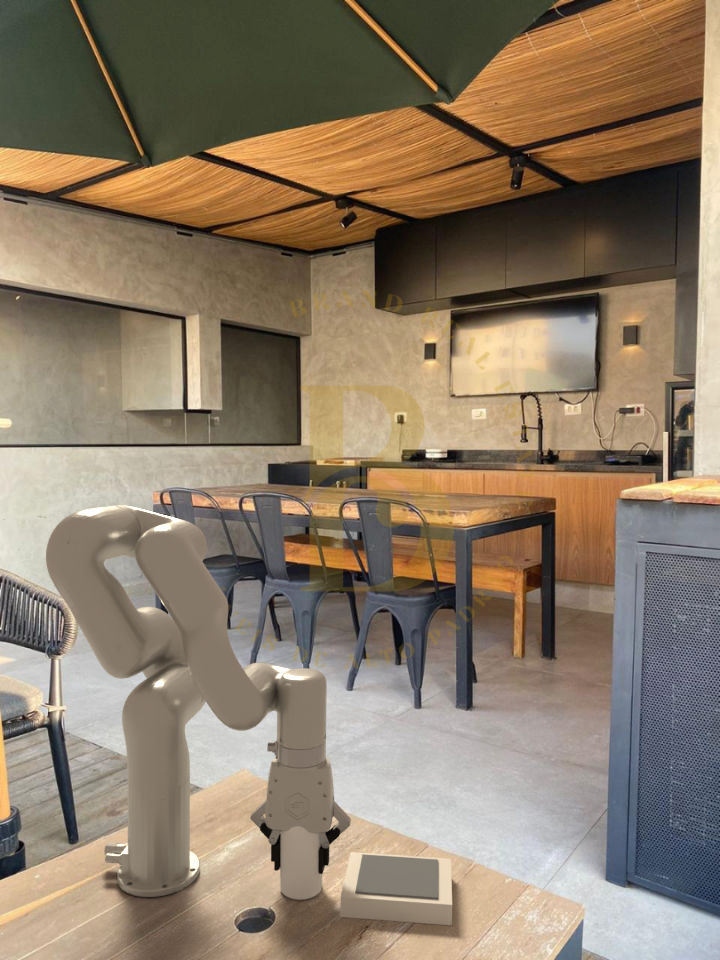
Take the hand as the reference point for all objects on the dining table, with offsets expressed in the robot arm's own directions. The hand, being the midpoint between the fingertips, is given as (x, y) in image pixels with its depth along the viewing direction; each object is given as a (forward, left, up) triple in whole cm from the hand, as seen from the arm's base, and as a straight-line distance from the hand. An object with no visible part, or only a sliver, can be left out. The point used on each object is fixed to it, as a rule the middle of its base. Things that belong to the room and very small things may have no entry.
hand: (300, 866), depth 112 cm
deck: (+15, 0, -4) cm, 15 cm away
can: (0, 0, -4) cm, 4 cm away
